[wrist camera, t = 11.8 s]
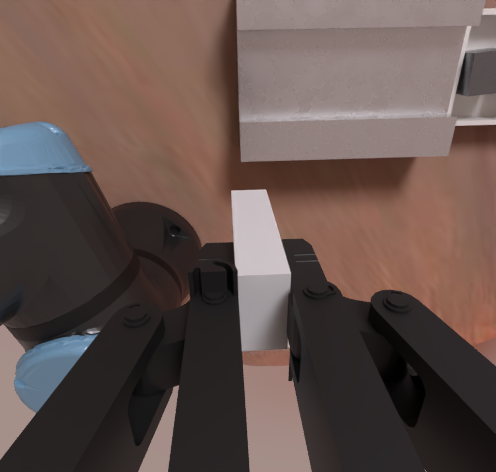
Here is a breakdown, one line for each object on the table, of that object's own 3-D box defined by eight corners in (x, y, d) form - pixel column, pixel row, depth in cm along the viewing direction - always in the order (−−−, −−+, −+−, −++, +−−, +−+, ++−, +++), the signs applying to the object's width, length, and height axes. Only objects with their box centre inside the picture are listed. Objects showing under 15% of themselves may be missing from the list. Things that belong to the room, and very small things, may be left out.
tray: (513, 118, 43) (532, 123, 41) (430, 120, 43) (443, 126, 40) (547, 9, 38) (571, 7, 36) (453, 11, 38) (470, 8, 35)
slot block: (422, 142, 44) (448, 155, 39) (239, 147, 43) (240, 161, 38) (454, -18, 37) (492, -29, 31) (235, -15, 36) (235, -25, 31)
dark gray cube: (482, 87, 41) (506, 91, 37) (447, 92, 41) (467, 96, 38) (489, 47, 39) (515, 48, 36) (452, 52, 39) (474, 53, 36)
